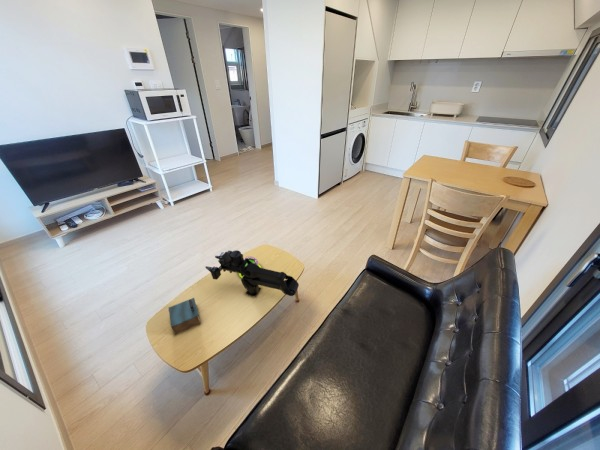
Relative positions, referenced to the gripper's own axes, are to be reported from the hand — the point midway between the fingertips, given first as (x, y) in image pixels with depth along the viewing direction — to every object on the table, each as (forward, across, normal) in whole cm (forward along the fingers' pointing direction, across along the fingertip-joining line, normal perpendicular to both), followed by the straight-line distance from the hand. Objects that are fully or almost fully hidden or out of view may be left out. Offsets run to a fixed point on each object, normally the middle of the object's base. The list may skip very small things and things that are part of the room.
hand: (210, 261), depth 137 cm
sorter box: (0, +28, +16) cm, 32 cm away
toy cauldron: (-15, -14, +17) cm, 27 cm away
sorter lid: (0, +27, +10) cm, 29 cm away
